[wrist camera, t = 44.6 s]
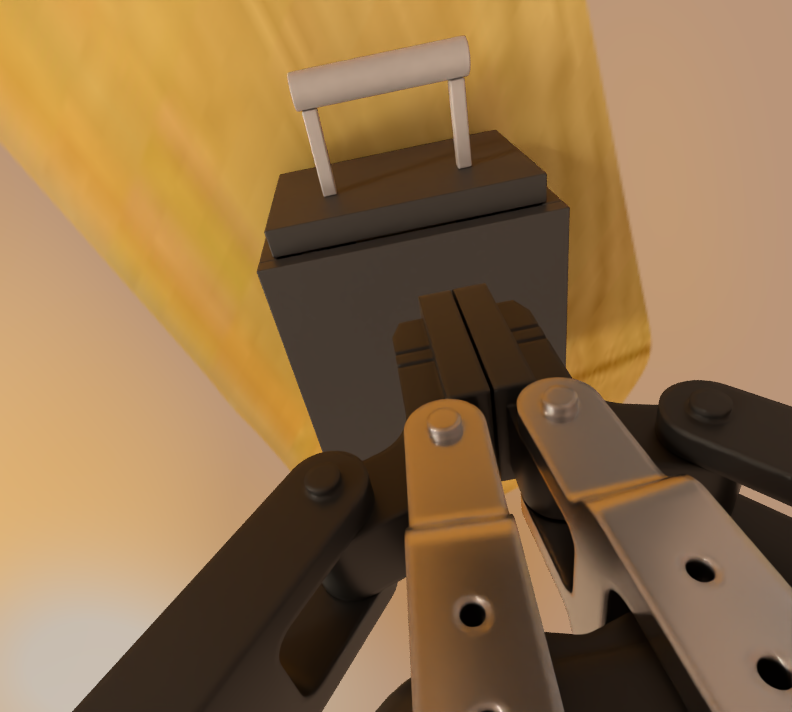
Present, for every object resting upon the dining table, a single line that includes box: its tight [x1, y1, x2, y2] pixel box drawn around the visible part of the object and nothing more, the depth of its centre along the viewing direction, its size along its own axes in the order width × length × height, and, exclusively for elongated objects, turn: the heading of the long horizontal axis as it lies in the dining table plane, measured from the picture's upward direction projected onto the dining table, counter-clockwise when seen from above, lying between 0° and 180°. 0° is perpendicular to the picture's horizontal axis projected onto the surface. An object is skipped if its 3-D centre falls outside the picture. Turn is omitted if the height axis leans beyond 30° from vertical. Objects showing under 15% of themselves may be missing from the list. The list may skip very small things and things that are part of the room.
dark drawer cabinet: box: [257, 188, 570, 461], centre depth 29 cm, size 15×13×10 cm
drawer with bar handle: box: [265, 36, 547, 258], centre depth 26 cm, size 18×11×8 cm, turn 10°
